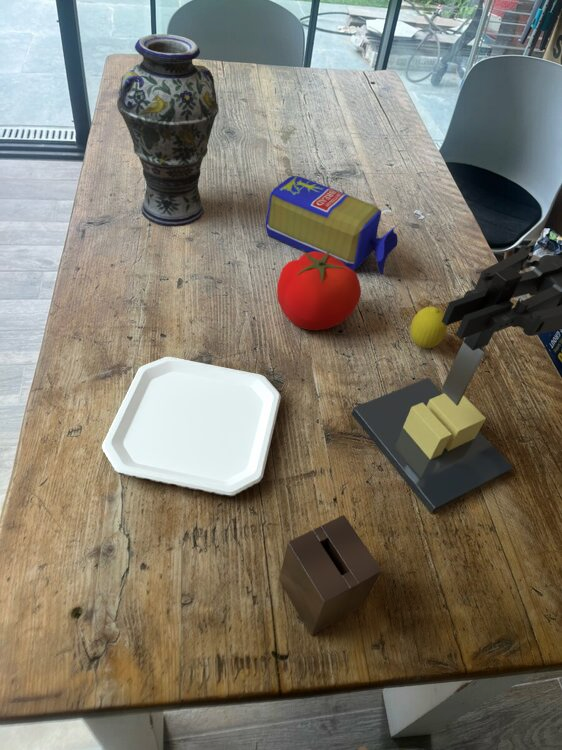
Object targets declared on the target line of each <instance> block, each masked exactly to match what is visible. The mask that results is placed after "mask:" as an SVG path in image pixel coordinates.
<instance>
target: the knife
mask: <svg viewBox="0 0 562 750" xmlns="http://www.w3.org/2000/svg"><path fill="white" fill-rule="evenodd" d="M520 273H521V272H517V271H516V270H515V269H514V268H512V267H510V268H507V269H504V270H501V271H498V272H496V273H495V275H494V277H493V279H492V281H491V284H490V286H489V288H488V290H487V292H486V294H485V297H484V299H483V301H482V303H481V305H480V307H479V310H481V309H484V308H487V307H490V306H493V305H496V304H499V303H502V302H505V301H507V300H510V301H512V299H513V298H512V296H513V294H514V292H515V290H516V288H517V286H518V284H519V282H520V280H521V278H522V275H521V274H520ZM479 310H478V311H479ZM494 333H495V332H491V331H490V330H489V329H487V330H484V331H481V332H479V333H476V334H473V335H471V336H468V337H465V338H463V341H462V343H461V345H460V348H459V350H458V352H457V354H456V357H455V359H454V361H453V363H452V365H451V367H450V370H449V372H448V374H447V376H446V377H445V378H446V379H445V381H444V383H443V385H442V387H441V390H440V391H441V392H442V393H443V394H444V393H445V394H446V395H447V396H448V397H449V398H450V399H451V400H452V401H453V403H454V404H455V405H456V406H457V405H459V403H460V401H461V399H462V397H463V395H464V396H465V393H466V391H467V389H468V387H469V385H470V383H471V381H472V379H473V378H474V376H475V373H476V371H477V369H478V367H479V366H480V364H481V361H482V360H483V357H484V355H485V353H486V350H485V349H484V347H486V346H488V345H489V343H490V342H491V339H492V337H493V335H494Z"/></svg>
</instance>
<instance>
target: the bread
mask: <svg viewBox="0 0 562 750" xmlns="http://www.w3.org/2000/svg"><path fill="white" fill-rule="evenodd" d="M381 216H382V210H381V209H380V208H378V207H377V206H375V205H373V204H371V203H368V202H366V201H364V200H361V199H358V198H356V197H354V196H352V195H349V194H347V193H344V192H341V191H339V190H336V189H334V188H331V187H329V186H325V185H323V184H320V183H318V182H315V181H312V180H310V179H308V178H305V177H303V176H299V175H298V176H297V175H292V176H289V177H288V178H287V179H284V181H283V182H281V183H280V184H278V185H277V186H276V187H274V188H273V189H272V190H271V192H270V195H269V201H268V208H267V214H266V218H265V222H264V224H265V232H266V234H267V236H268V237H269V238H272V239H274V240H277V241H279V242H281V243H284V244H286V245H288V246H290V247H293V248H295V249H297V250H300V251H302V250H304V251H305V252H306V253H310V252H314V251H316V252H321V253H325V254H327V252H328V251H329V250H330V249H331V250H330V252H329V254H330V255H331V256H333V257H335V258H337V259H338V260H340V261H342V262H343V263H344V264H345V265H346V266H347V267H349V268H350V269H351V270H353V271H355V270H356V269H358V268H360V266H361V265H363V263H364V262H365V261H366V260H367V259H368V258H369V256H370V255H371V254H372V253H374V256H375V260H376V266H377V269H378V272H379V273H380V274H381V275H384V273H385V265H386V260H387V259H388V256H389V254H390V253H391V252H392V251H393V250H394V249H395V248H397V246H398V242H399V240H398V238H399V237H398V234H397V233H396V232H395V229H396V228H397V226H398V225H399V224H400V223H398V224H397V225H395V226H394V227H393V228H391V229H390V230H389V231H388V232H386V234H385V235H383V236H381V237H378V230H379V226H380V225H379V224H380V221H381ZM301 249H302V250H301Z"/></svg>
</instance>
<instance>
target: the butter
mask: <svg viewBox="0 0 562 750" xmlns="http://www.w3.org/2000/svg"><path fill="white" fill-rule="evenodd" d="M427 408H428V409H429V410H430V411H431V412H432V413H433V414H434V415H435V416H436V417H437V419H438V420H439V421H440V422H441V423H442V424H443V425H444V426H445V427H446V428H447V430H448V431H449V432H450V433H451V434H452V435H451V437H450V439H449V441H448V442H447V444H446V446H445V448H446V449H447V450H448V451H449V450H451V449H453V448H456V447H458V446H460V445H462V444H464V443H466V442H468V441H470V440H472V439H475V437H476V435H477V433H478V432H480V430H481V428H482V427H483V426H484V425H483V424H484V423H485V422H486V420H487V417H486V416H484V415H483V413H482V412H481V411H480V410H479V409H478V408H477V407H476V405H474V404H473V403H472V402H471V401H470V400H469V399H468V398H467V397H466V396H465V394H464V395H463V397H462V399H461V401H460V403H459V405H457V406H456V405H455V404H454V403H453V401H452V400H451V399H450V398H449V397H448V396H447V395H446V394H445V393H444V392H443V394H442V395H439V396H437V397H434V398H432V399H430V400H429V402H428V405H427Z"/></svg>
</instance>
